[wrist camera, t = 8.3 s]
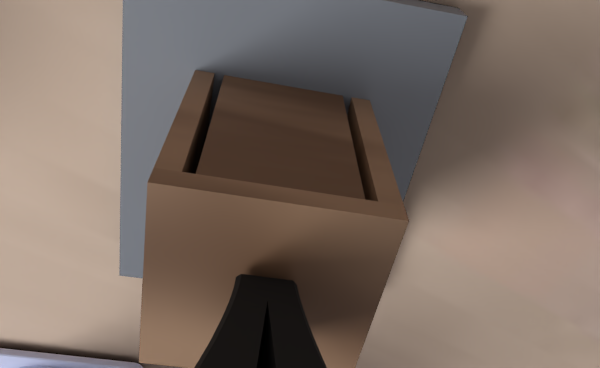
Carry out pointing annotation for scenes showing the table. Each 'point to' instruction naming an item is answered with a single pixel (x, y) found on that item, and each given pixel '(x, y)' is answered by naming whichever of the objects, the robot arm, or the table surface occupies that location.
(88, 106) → the table surface
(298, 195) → the sliding lid crate
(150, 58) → the post base
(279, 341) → the robot arm
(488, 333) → the table surface
